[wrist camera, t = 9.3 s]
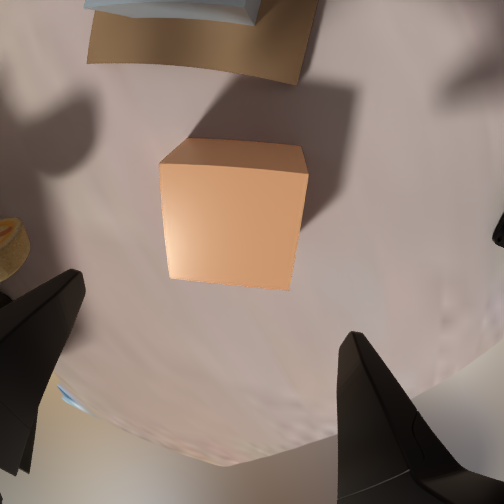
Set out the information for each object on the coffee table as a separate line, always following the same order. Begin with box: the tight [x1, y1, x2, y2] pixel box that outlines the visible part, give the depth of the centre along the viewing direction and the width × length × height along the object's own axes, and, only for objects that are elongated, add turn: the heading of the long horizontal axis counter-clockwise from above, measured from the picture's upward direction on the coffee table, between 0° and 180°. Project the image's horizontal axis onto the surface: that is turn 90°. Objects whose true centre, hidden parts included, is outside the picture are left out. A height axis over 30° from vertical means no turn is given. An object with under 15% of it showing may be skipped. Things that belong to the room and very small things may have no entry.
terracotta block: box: [159, 138, 309, 291], centre depth 15 cm, size 6×6×4 cm
